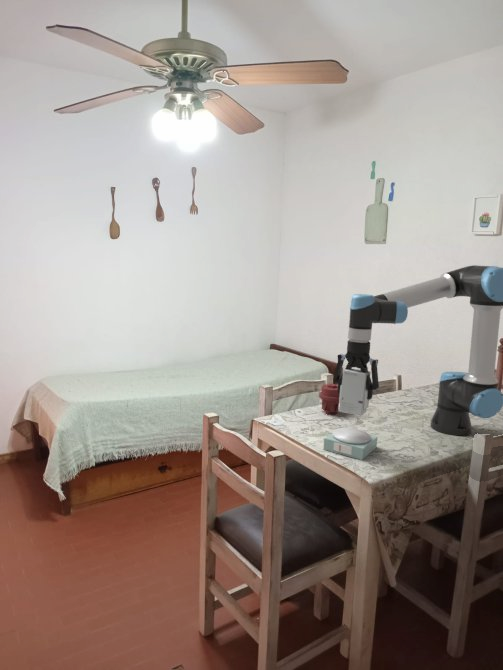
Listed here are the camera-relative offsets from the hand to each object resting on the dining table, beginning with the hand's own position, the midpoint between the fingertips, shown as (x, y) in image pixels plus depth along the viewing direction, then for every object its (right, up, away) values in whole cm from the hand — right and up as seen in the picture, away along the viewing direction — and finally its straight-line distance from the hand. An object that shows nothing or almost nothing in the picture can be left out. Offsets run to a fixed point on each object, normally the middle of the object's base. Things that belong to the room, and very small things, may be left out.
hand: (353, 405), depth 168 cm
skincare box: (0, -3, 0) cm, 3 cm away
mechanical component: (-2, -9, +40) cm, 41 cm away
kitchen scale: (-1, -15, +3) cm, 16 cm away
